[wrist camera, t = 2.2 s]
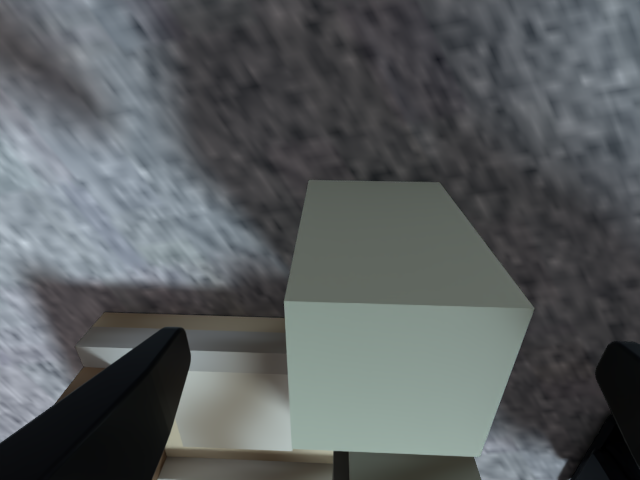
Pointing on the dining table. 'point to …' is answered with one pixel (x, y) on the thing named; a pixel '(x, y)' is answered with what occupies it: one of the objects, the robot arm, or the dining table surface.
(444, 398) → the block
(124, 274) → the dining table surface
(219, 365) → the open tray
